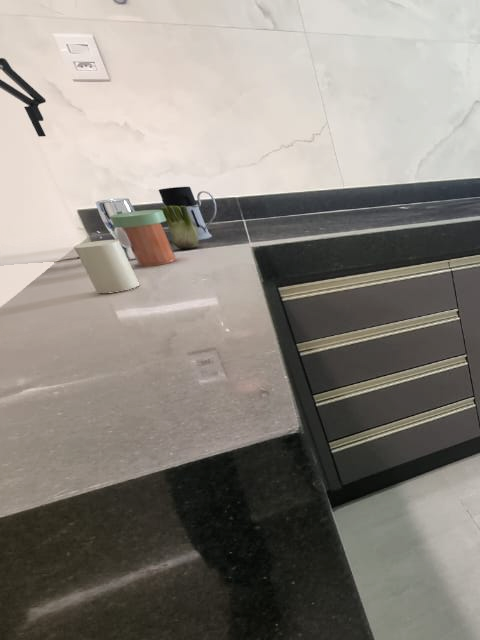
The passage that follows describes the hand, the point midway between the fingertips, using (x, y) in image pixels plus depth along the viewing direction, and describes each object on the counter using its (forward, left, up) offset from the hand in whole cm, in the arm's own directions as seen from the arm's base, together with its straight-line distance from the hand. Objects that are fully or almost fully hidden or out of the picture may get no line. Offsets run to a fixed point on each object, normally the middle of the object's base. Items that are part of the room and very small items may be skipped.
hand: (1, 138), depth 122 cm
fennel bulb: (+24, -6, -31) cm, 40 cm away
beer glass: (+13, -4, -31) cm, 34 cm away
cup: (+13, -18, -31) cm, 38 cm away
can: (-1, -40, -31) cm, 50 cm away
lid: (+13, -18, -21) cm, 30 cm away
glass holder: (+33, +8, -31) cm, 46 cm away
